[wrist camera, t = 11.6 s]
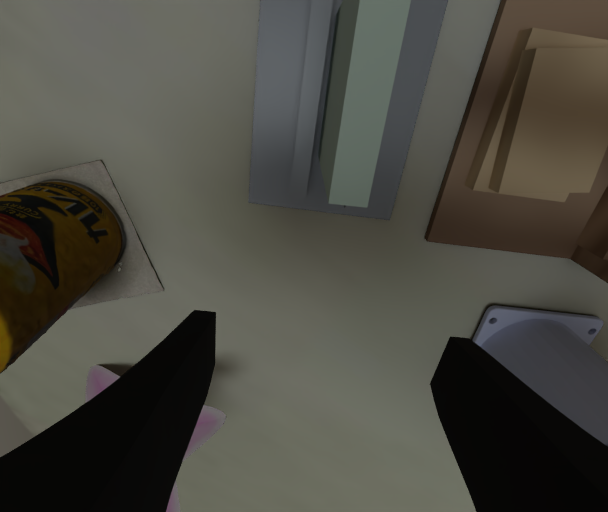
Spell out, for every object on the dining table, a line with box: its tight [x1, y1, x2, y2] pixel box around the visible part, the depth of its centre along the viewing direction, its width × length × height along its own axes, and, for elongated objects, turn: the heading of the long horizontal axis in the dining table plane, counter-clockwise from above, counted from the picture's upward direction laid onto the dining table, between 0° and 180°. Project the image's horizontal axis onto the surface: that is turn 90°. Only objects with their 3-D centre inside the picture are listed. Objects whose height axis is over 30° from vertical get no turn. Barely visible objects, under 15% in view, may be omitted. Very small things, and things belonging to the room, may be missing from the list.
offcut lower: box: [465, 28, 608, 202], centre depth 16 cm, size 7×5×1 cm
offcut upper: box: [488, 47, 608, 193], centre depth 15 cm, size 6×4×1 cm
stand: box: [249, 0, 448, 220], centre depth 15 cm, size 12×8×2 cm, turn 172°
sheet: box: [318, 0, 411, 208], centre depth 12 cm, size 6×1×8 cm, turn 173°
